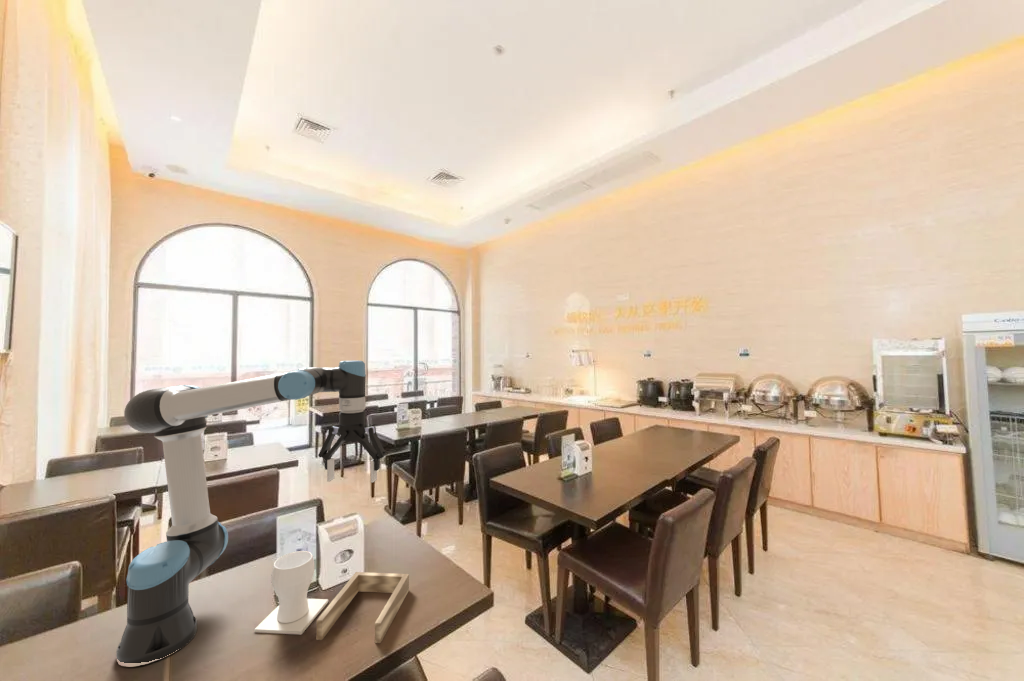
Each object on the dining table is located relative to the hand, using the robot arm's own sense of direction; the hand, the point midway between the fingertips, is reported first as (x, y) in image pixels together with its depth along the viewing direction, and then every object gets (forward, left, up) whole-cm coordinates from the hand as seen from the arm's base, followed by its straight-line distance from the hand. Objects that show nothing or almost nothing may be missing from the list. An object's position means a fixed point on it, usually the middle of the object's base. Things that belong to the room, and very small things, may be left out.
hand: (352, 480), depth 119 cm
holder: (+8, -7, -35) cm, 36 cm away
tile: (-12, -10, -35) cm, 38 cm away
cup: (-12, -10, -34) cm, 38 cm away
